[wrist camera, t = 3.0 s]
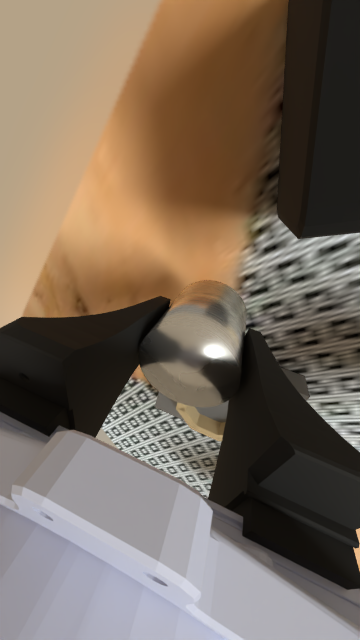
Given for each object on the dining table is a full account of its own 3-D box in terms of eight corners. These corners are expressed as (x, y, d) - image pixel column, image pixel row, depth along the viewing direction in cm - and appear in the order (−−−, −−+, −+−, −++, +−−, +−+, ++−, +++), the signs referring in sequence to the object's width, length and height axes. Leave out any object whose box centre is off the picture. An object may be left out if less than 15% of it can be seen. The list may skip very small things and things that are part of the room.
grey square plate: (304, 376, 20) (313, 411, 17) (256, 432, 26) (256, 466, 23) (179, 328, 22) (165, 352, 19) (162, 391, 28) (149, 417, 25)
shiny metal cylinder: (259, 295, 11) (260, 353, 7) (230, 353, 14) (219, 420, 10) (184, 270, 12) (144, 309, 8) (169, 329, 14) (134, 383, 10)
